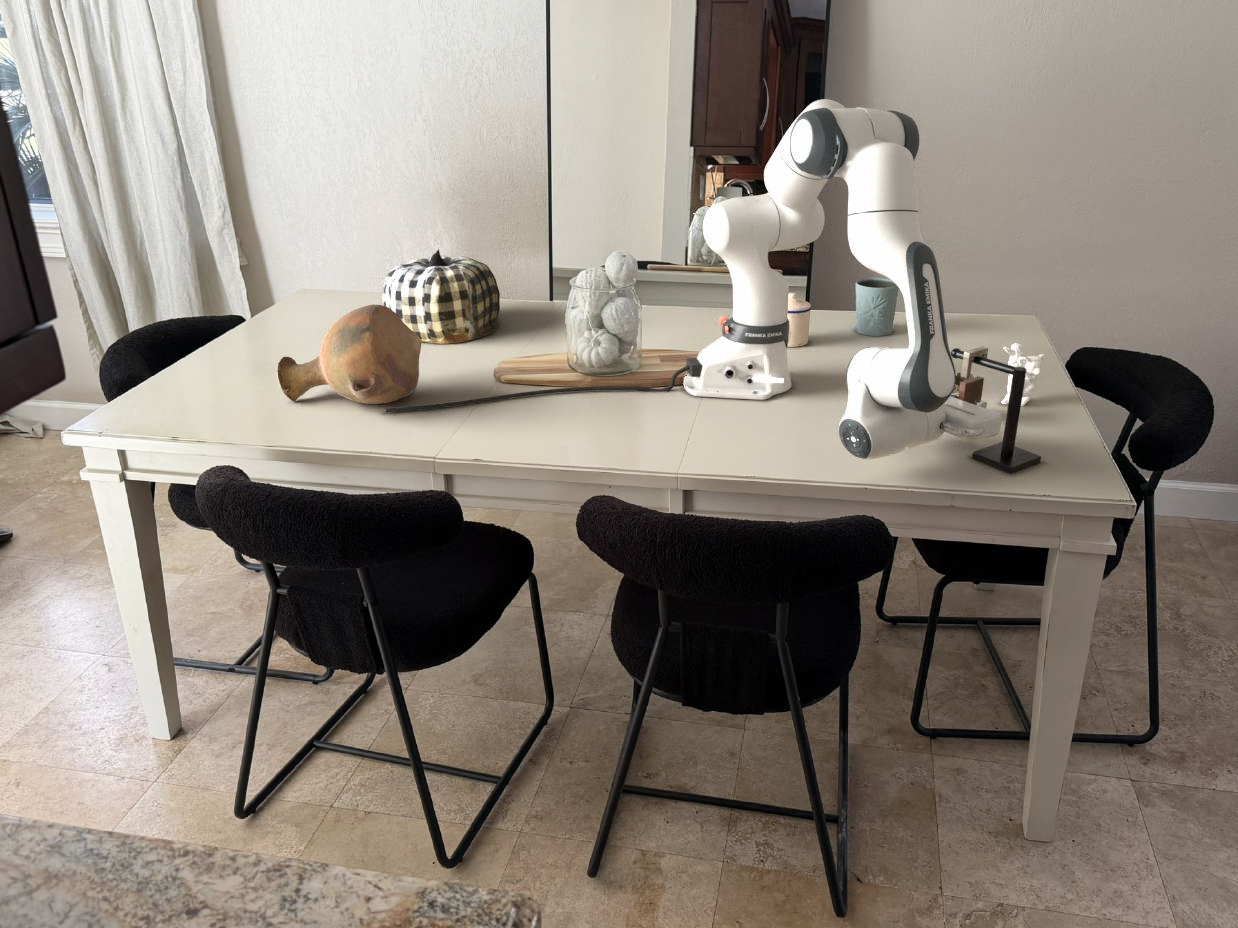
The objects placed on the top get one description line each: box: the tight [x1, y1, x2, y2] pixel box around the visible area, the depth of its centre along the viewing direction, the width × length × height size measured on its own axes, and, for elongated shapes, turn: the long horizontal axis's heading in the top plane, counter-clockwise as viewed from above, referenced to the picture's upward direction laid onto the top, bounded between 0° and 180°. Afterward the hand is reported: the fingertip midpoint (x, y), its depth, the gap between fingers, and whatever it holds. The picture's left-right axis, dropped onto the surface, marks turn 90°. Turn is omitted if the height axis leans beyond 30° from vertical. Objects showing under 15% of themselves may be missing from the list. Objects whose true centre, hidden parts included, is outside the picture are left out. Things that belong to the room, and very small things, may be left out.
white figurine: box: [1000, 342, 1046, 407], centre depth 198 cm, size 8×7×12 cm
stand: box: [950, 347, 1042, 475], centre depth 175 cm, size 8×18×17 cm, turn 34°
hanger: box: [958, 345, 989, 404], centre depth 178 cm, size 5×5×16 cm
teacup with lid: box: [787, 292, 812, 348], centre depth 237 cm, size 12×9×12 cm
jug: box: [276, 304, 422, 405], centre depth 203 cm, size 20×20×30 cm
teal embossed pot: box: [855, 277, 900, 337], centre depth 244 cm, size 10×10×12 cm
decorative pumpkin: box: [381, 248, 501, 345], centre depth 250 cm, size 30×29×20 cm
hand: (972, 401), depth 179 cm, fingers open, 3 cm apart
